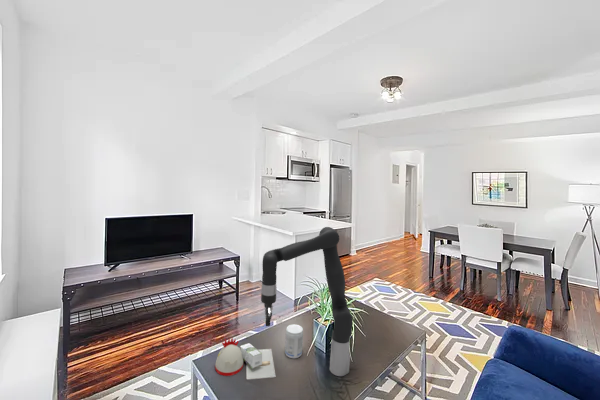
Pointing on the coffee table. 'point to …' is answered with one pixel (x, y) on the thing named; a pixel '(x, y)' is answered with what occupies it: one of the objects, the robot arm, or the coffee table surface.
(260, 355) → the syrup box
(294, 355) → the supplement tub
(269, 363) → the beech stop strip
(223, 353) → the kitchen timer
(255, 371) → the white rectangular board
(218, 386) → the coffee table surface
